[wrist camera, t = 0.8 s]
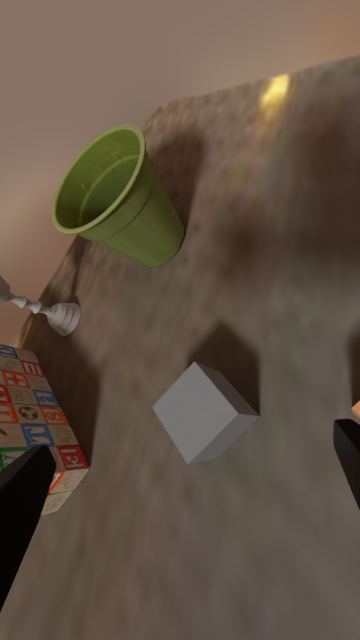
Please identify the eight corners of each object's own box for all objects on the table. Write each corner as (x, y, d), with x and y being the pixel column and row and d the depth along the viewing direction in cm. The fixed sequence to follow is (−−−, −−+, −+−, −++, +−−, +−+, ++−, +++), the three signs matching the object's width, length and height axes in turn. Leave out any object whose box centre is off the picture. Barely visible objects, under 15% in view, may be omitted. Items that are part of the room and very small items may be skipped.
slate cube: (260, 416, 22) (238, 413, 18) (217, 458, 23) (187, 464, 19) (220, 372, 25) (194, 361, 21) (184, 410, 26) (152, 407, 22)
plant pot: (158, 303, 31) (78, 253, 23) (113, 260, 39) (38, 208, 30) (224, 219, 30) (167, 132, 21) (165, 191, 37) (104, 116, 28)
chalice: (91, 315, 37) (-76, 243, 23) (62, 352, 38) (-118, 306, 24) (73, 288, 42) (-77, 214, 27) (47, 322, 42) (-112, 267, 28)
